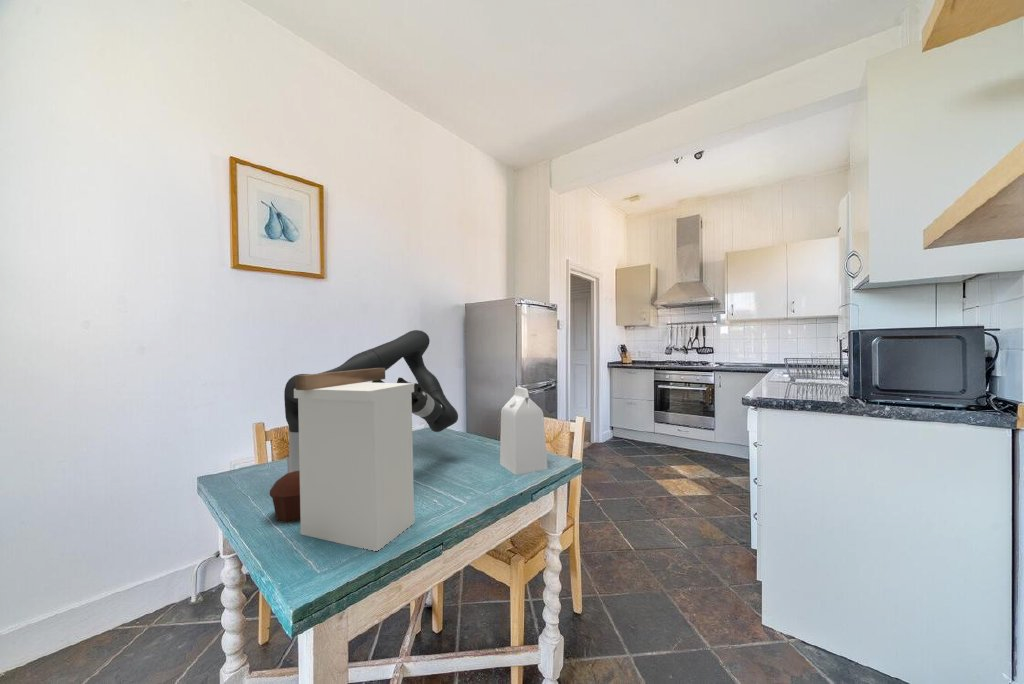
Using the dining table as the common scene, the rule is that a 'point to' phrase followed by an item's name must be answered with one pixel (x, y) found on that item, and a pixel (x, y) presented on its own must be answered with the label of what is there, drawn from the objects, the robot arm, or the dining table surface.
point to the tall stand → (356, 463)
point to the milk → (522, 435)
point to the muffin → (287, 497)
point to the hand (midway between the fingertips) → (385, 380)
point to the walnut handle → (338, 378)
